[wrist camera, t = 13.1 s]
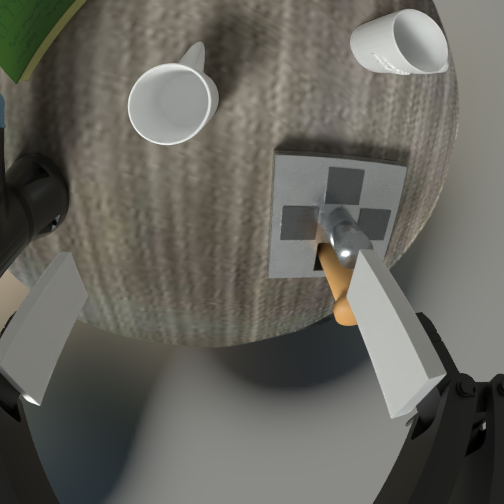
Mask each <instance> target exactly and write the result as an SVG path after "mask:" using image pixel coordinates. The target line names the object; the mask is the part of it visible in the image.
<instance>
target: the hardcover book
mask: <svg viewBox="0 0 504 504" xmlns="http://www.w3.org/2000/svg"><path fill="white" fill-rule="evenodd" d="M86 1H87V0H0V66H1V68H2V69H3V70H4V71H5V72H6V73H7V74H8V76H9V77H10V78H11V79H12V80H13V81H14V82H15V84H17V83H18V82H20V81H26V80H28V79H29V77H30V76H31V74H32V72H33V71H34V69H35V68H36V66H37V64H38V63H39V61H40V60H41V58H42V57H43V55H44V54H45V52H46V51H47V49H48V48H49V47H50V45H51V44H52V42H53V41H54V40H55V38H56V37H57V36H58V34H59V33H60V32H61V30H62V29H63V28H64V27H65V25H66V24H67V23H68V22H69V20H70V19H71V18H72V17H73V16H74V15H75V13H76V12H77V11H78V10H79V9H80V8H81V7H82V6H83V4H84V3H85V2H86Z"/></svg>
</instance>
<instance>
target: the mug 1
mask: <svg viewBox="0 0 504 504" xmlns="http://www.w3.org/2000/svg"><path fill="white" fill-rule="evenodd" d="M204 62H205V48H204V44H203V42H197V43H195V44H194V45H193V46H191V47H190V49H189V50H188V51H187V52H186V53H185V55H184V56H183V57H182V59H181V60H180V61H179V62H178V63H166V64H162V65H158V66H156V67H154V68H152V69H150V70H148V71H147V72H145V73H144V74H143V75H142V76H141V77H140V78H139V79H138V80H137V82H136V83H135V85H134V86H133V88H132V90H131V93H130V96H129V100H128V113H129V117H130V121H131V123H132V125H133V127H134V128H135V130H136V131H137V132H138V133H139V134H140V135H141V136H142V137H144V138H145V139H147V140H149V141H151V142H153V143H156V144H162V145H172V144H178V143H181V142H184V141H186V140H188V139H190V138H191V137H193V136H194V135H195V134H197V133H198V132H199V131H200V130H201V129H202V128H203V127H204V126H205V125H206V123H207V122H208V121H209V120H210V119H211V118H212V117H213V115H214V114H215V112H216V110H217V107H218V102H219V94H218V90H217V87H216V85H215V83H214V82H213V80H212V79H211V78H210V77H208V76H207V75H206V74H205V73H204Z"/></svg>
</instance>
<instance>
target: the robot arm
mask: <svg viewBox="0 0 504 504" xmlns="http://www.w3.org/2000/svg"><path fill="white" fill-rule="evenodd" d="M4 108H5V101H4V98H3V96H2V95H1V94H0V278H1V276H2V275H3V274H4V272H5V271H6V270H7V269H8V267H9V266H10V265H11V264H12V262H13V261H14V260H15V259H16V258H17V256H18V255H19V254H20V253H21V252H22V251H23V249H24V248H25V247H26V246H27V245H28V244H29V243H30V242H32V241H34V240H36V239H39V238H41V237H44V236H46V235H48V234H50V233H52V232H53V231H54V230H55V229H56V228H57V227H58V226H59V225H60V224H61V223H62V222H63V220H64V219H65V216H66V213H67V209H68V193H67V188H66V184H65V181H64V179H63V177H62V175H61V173H60V171H59V169H58V168H57V167H56V165H55V164H54V163H53V162H52V161H51V160H49V159H48V158H47V157H45V156H43V155H40V154H28V155H26V156H24V157H22V158H20V159H18V160H17V161H16V162H14V163H13V164H12V166H11V167H10V168H9V169H8V171H7V172H6V173H5V163H4V128H5V126H6V125H5V123H4ZM346 297H347V300H348V302H349V304H350V307H351V309H352V312H353V314H354V316H355V319H356V321H357V324H358V326H359V329H360V332H361V334H362V337H363V339H364V341H365V344H366V347H367V349H368V352H369V355H370V358H371V360H372V363H373V366H374V369H375V371H376V374H377V377H378V380H379V383H380V386H381V389H382V392H383V395H384V398H385V401H386V403H387V407H388V410H389V413H390V416H391V418H395V417H398V416H402V415H405V414H408V413H409V412H410V411H411V410H412V409H413V408H414V407H416V408H417V411H418V413H417V414H416V415H414V416H413V417H412V418H411V419H410V420H409V421H408V422H407V423H406V426H408V425H410V424H411V423H412V422H413V423H412V425H411V428H410V430H409V433H408V435H407V438H406V440H405V442H404V445H403V447H402V449H401V451H400V454H399V456H398V458H397V460H396V462H395V464H394V466H393V468H392V470H391V472H390V474H389V476H388V478H387V480H386V482H385V483H384V485H383V487H382V489H381V491H380V492H379V494H378V496H377V497H376V499H375V501H374V502H373V504H504V374H497V375H496V376H495V377H494V378H493V379H492V380H491V381H490V382H475V381H474V380H473V378H472V377H470V376H469V375H467V374H464V373H459V371H458V369H457V368H456V366H455V364H454V362H453V360H452V358H451V356H450V354H449V352H448V350H447V348H446V346H445V345H444V343H443V341H441V337H440V336H439V334H438V333H437V330H436V329H435V327H434V325H433V324H432V322H431V320H429V318H427V317H426V316H425V315H424V314H423V313H422V312H420V313H414V310H413V309H412V307H411V305H410V304H409V302H408V300H407V299H406V297H405V295H404V294H403V292H402V291H401V289H400V287H399V286H398V284H397V283H396V281H395V279H394V278H393V276H392V275H391V273H390V272H389V270H388V269H387V267H386V266H385V264H384V263H383V261H382V260H381V258H380V257H379V255H378V254H377V252H376V251H375V249H360V250H359V254H358V257H357V261H356V265H355V268H354V272H353V276H352V279H351V282H350V286H349V289H348V292H347V296H346ZM87 298H88V294H87V292H86V290H85V287H84V285H83V282H82V280H81V277H80V275H79V272H78V270H77V267H76V265H75V262H74V259H73V256H72V254H71V252H59V253H58V254H57V255H56V257H55V258H54V259H53V261H52V262H51V263H50V264H49V266H48V267H47V268H46V270H45V271H44V272H43V274H42V275H41V276H40V278H39V279H38V280H37V282H36V283H35V285H34V286H33V288H32V289H31V290H30V292H29V293H28V295H27V296H26V298H25V299H24V301H23V302H22V304H21V305H20V307H19V308H18V310H17V311H16V312H15V313H14V314H13V315H12V316H11V317H10V318H9V320H8V321H7V323H6V325H5V328H3V330H2V331H1V333H0V334H1V335H0V504H60V503H59V501H58V500H57V497H56V496H55V494H54V492H53V489H52V487H51V485H50V483H49V481H48V479H47V476H46V474H45V472H44V469H43V467H42V464H41V462H40V459H39V457H38V454H37V451H36V449H35V446H34V443H33V440H32V437H31V433H30V430H29V427H28V423H27V420H26V416H25V412H24V408H23V404H22V402H21V400H20V399H19V398H18V397H19V395H20V394H21V395H23V397H24V398H25V399H26V400H28V401H29V402H32V403H35V404H37V405H41V402H42V399H43V396H44V393H45V391H46V388H47V385H48V383H49V380H50V377H51V375H52V372H53V370H54V367H55V365H56V363H57V360H58V358H59V355H60V353H61V351H62V349H63V346H64V344H65V342H66V340H67V338H68V335H69V333H70V331H71V329H72V327H73V325H74V323H75V321H76V319H77V317H78V315H79V313H80V311H81V309H82V307H83V305H84V303H85V301H86V299H87ZM485 422H486V429H485V430H483V427H482V426H483V425H482V424H483V423H485Z"/></svg>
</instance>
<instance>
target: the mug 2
mask: <svg viewBox="0 0 504 504" xmlns="http://www.w3.org/2000/svg"><path fill="white" fill-rule="evenodd" d="M350 44H351V49H352V52H353V54H354V56H355V58H356V59H357V60H358V62H359V63H360V64H361V65H362V66H364V67H365V68H367V69H368V70H371V71H373V72H378V73H394V74H401V75H410V73H420V74H433V73H436V72H438V73H442V72H445V71H446V70H447V69H448V67H449V65H448V60H447V57H448V47H447V42H446V39H445V37H444V34H443V32H442V31H441V29H440V27H439V26H438V25H437V24H436V22H435V21H434V20H433V19H431V18H430V17H429V16H428V15H426V14H424V13H422V12H420V11H418V10H414V9H403V10H400V11H397V12H394V13H391V14H388V15H385V16H383V17H380V18H377V19H375V20H372V21H369V22H367V23H364V24H362V25H360V26H358V27H357V28H356V29H355V30H354V31H353V33H352V35H351V39H350Z"/></svg>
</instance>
